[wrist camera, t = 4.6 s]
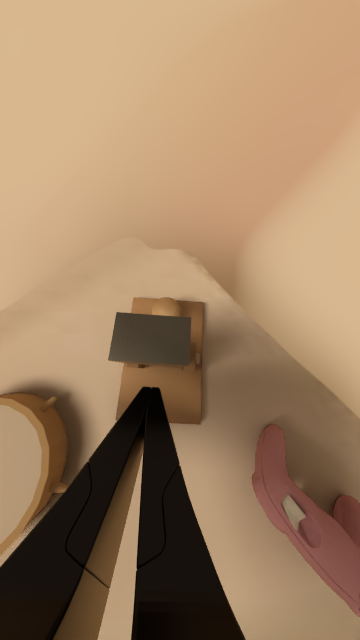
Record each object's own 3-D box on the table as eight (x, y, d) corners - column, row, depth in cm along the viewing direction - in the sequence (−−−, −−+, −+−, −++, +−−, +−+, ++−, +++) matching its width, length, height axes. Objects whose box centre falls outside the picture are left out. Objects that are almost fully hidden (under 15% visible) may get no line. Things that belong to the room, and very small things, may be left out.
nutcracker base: (199, 422, 17) (207, 437, 13) (118, 418, 17) (102, 432, 13) (201, 304, 20) (208, 289, 17) (135, 300, 20) (126, 283, 16)
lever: (178, 368, 17) (189, 365, 7) (146, 366, 17) (108, 360, 7) (179, 347, 17) (191, 317, 7) (148, 346, 17) (116, 312, 7)
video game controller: (238, 442, 18) (245, 521, 11) (271, 415, 17) (300, 485, 10) (318, 523, 16) (382, 672, 10) (359, 498, 15) (463, 646, 9)
